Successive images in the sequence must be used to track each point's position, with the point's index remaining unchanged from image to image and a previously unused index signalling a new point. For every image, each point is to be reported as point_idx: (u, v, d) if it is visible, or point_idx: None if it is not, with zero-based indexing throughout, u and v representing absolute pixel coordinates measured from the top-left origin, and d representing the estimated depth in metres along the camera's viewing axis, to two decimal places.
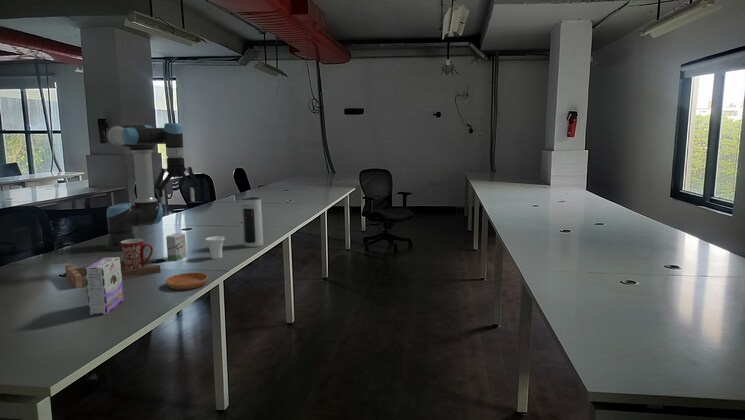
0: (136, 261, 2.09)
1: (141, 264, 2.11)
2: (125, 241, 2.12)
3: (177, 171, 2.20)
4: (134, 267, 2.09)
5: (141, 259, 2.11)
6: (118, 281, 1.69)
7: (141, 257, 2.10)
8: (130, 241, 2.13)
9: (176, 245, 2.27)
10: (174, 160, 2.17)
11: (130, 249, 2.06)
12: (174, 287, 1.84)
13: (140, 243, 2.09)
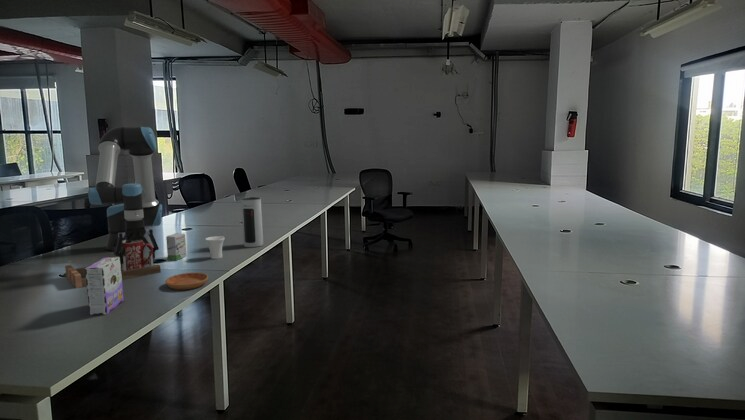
0: (136, 261, 2.09)
1: (141, 264, 2.11)
2: (125, 241, 2.12)
3: (136, 233, 2.09)
4: (134, 267, 2.09)
5: (141, 259, 2.11)
6: (118, 281, 1.69)
7: (141, 257, 2.10)
8: None
9: (176, 245, 2.27)
10: (132, 224, 2.05)
11: (130, 249, 2.06)
12: (174, 287, 1.84)
13: (140, 243, 2.09)
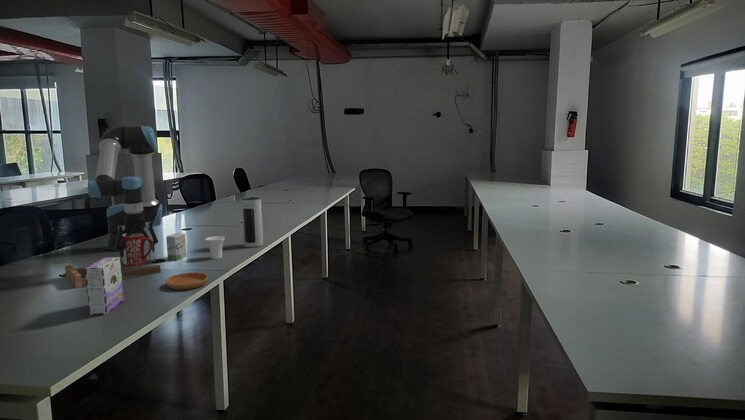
0: (136, 255, 2.08)
1: (141, 258, 2.11)
2: None
3: (136, 226, 2.09)
4: (134, 261, 2.08)
5: (141, 253, 2.10)
6: (118, 281, 1.69)
7: (141, 251, 2.10)
8: None
9: (176, 245, 2.27)
10: (132, 217, 2.05)
11: (130, 242, 2.06)
12: (174, 287, 1.84)
13: (141, 237, 2.09)
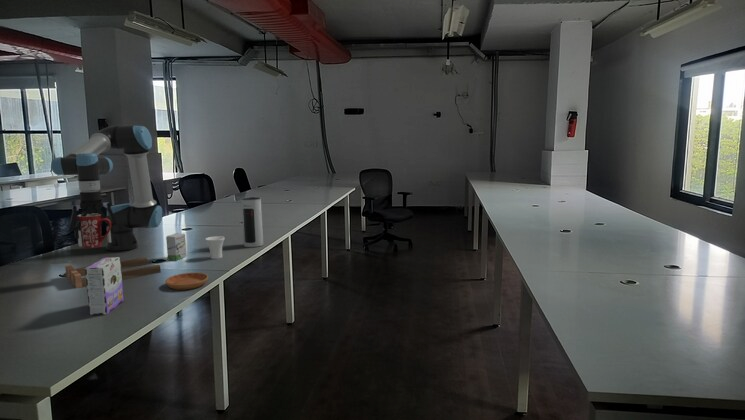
0: (92, 236, 1.96)
1: (98, 240, 1.98)
2: None
3: (92, 206, 1.96)
4: (90, 243, 1.96)
5: (98, 234, 1.98)
6: (118, 281, 1.69)
7: (98, 232, 1.98)
8: (88, 215, 2.01)
9: (176, 245, 2.27)
10: (87, 195, 1.93)
11: (85, 223, 1.94)
12: (174, 287, 1.84)
13: (97, 217, 1.96)
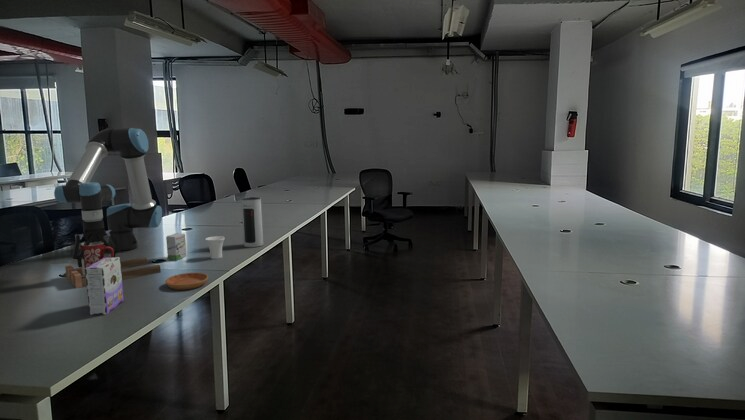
0: None
1: None
2: None
3: (95, 235, 1.98)
4: None
5: None
6: (118, 281, 1.69)
7: None
8: (91, 243, 2.03)
9: (176, 245, 2.27)
10: (90, 225, 1.95)
11: (88, 252, 1.96)
12: (174, 287, 1.84)
13: (100, 246, 1.98)
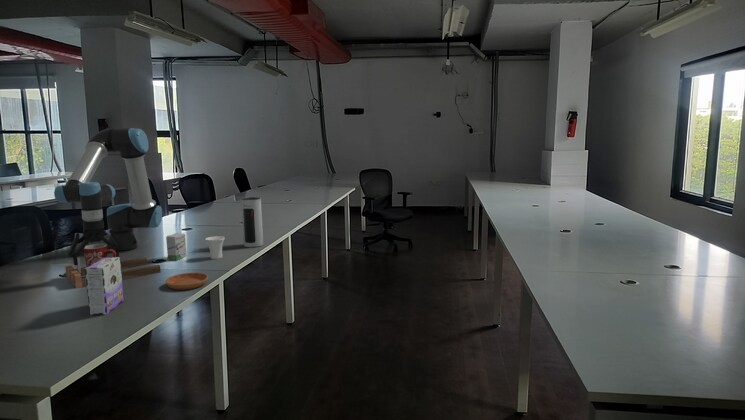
0: None
1: None
2: (89, 246, 2.02)
3: (95, 235, 1.98)
4: None
5: None
6: (118, 281, 1.69)
7: None
8: (94, 246, 2.04)
9: (176, 245, 2.27)
10: (90, 224, 1.94)
11: (91, 255, 1.97)
12: (174, 287, 1.84)
13: (102, 249, 1.99)
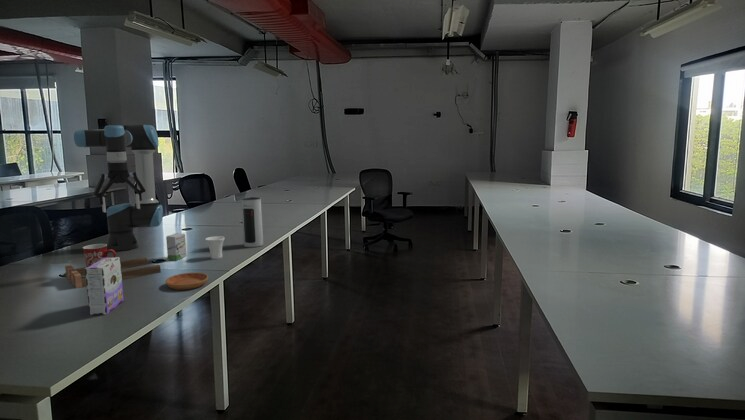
0: None
1: None
2: (89, 246, 2.02)
3: (119, 177, 2.06)
4: None
5: None
6: (118, 281, 1.69)
7: None
8: (94, 246, 2.04)
9: (176, 245, 2.27)
10: (115, 165, 2.02)
11: (91, 255, 1.97)
12: (174, 287, 1.84)
13: (102, 249, 1.99)
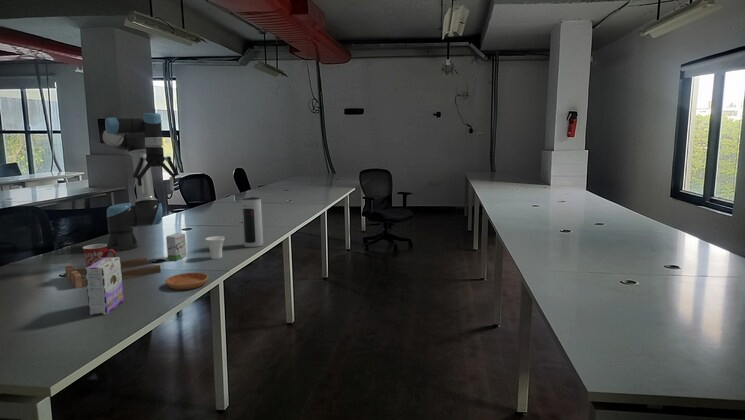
0: None
1: None
2: (89, 246, 2.02)
3: (156, 160, 2.24)
4: None
5: None
6: (118, 281, 1.69)
7: None
8: (94, 246, 2.04)
9: (176, 245, 2.27)
10: (152, 150, 2.21)
11: (91, 255, 1.97)
12: (174, 287, 1.84)
13: (102, 249, 1.99)
